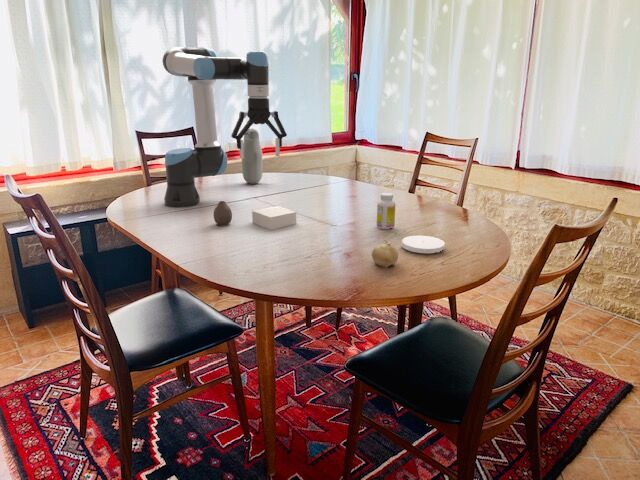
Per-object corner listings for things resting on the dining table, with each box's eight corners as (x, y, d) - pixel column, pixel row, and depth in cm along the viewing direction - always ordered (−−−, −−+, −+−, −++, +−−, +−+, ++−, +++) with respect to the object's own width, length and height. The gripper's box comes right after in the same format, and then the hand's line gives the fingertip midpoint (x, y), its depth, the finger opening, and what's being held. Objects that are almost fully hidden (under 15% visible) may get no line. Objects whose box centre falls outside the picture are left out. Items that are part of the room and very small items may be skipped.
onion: (400, 269, 150) (401, 246, 148) (373, 269, 150) (375, 247, 148) (394, 259, 158) (395, 238, 156) (369, 260, 157) (370, 238, 155)
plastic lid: (414, 239, 178) (415, 232, 177) (451, 248, 169) (452, 241, 169) (393, 249, 167) (393, 242, 167) (431, 259, 159) (432, 251, 158)
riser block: (252, 223, 195) (252, 210, 194) (277, 217, 203) (277, 205, 201) (270, 230, 187) (270, 217, 185) (296, 224, 194) (296, 212, 193)
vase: (228, 227, 189) (227, 204, 186) (211, 226, 190) (209, 203, 187) (235, 222, 195) (234, 200, 192) (218, 221, 196) (217, 199, 194)
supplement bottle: (395, 225, 192) (397, 193, 188) (392, 230, 186) (394, 196, 182) (378, 224, 195) (380, 191, 190) (374, 228, 189) (376, 195, 184)
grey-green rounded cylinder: (239, 183, 263) (236, 128, 254) (255, 180, 270) (253, 127, 261) (250, 186, 256) (248, 130, 248) (266, 183, 263) (265, 128, 254)
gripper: (225, 98, 173) (228, 160, 180) (294, 97, 182) (295, 156, 188) (221, 97, 180) (224, 156, 187) (288, 96, 188) (289, 153, 195)
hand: (259, 156), depth 188 cm, fingers open, 13 cm apart
